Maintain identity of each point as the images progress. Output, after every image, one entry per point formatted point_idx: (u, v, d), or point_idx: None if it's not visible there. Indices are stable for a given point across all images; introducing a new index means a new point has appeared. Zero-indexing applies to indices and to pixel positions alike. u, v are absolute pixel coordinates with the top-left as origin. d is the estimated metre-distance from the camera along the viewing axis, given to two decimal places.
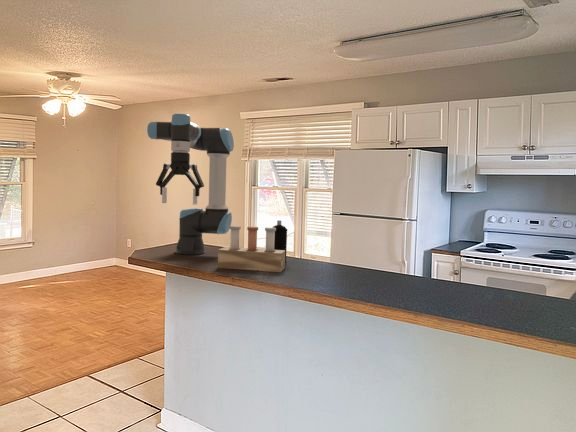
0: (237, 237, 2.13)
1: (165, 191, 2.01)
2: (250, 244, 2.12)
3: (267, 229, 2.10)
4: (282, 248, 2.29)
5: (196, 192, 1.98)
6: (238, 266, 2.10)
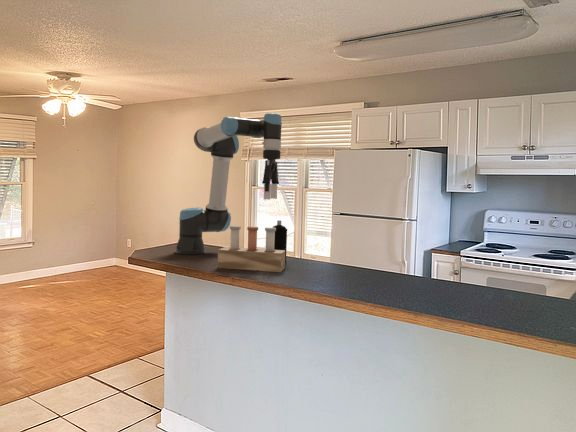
0: (237, 237, 2.13)
1: (274, 187, 2.16)
2: (250, 244, 2.12)
3: (267, 229, 2.10)
4: (282, 248, 2.29)
5: None
6: (238, 266, 2.10)
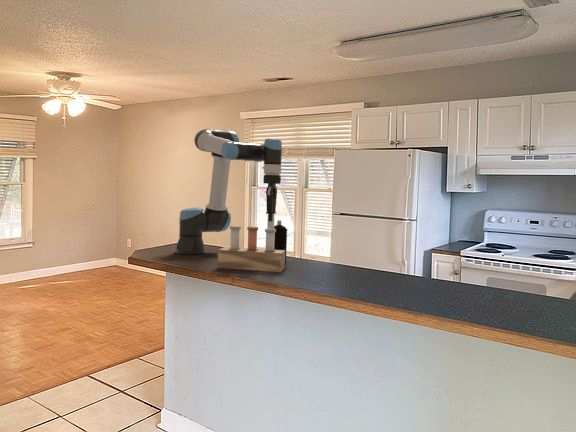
0: (237, 237, 2.13)
1: None
2: (250, 244, 2.12)
3: (267, 230, 2.10)
4: (282, 248, 2.29)
5: None
6: (238, 266, 2.10)
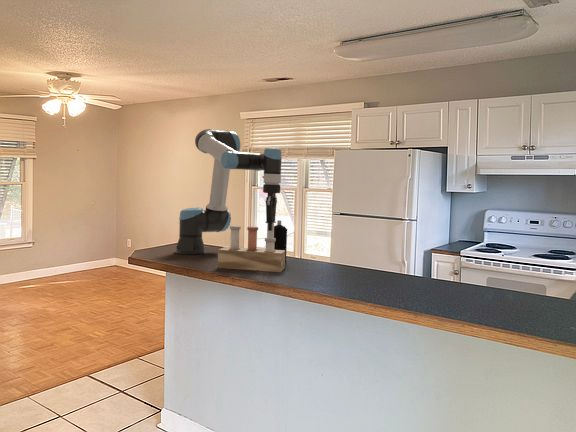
0: (237, 237, 2.13)
1: None
2: (250, 244, 2.12)
3: (267, 239, 2.10)
4: (282, 248, 2.29)
5: None
6: (238, 266, 2.10)
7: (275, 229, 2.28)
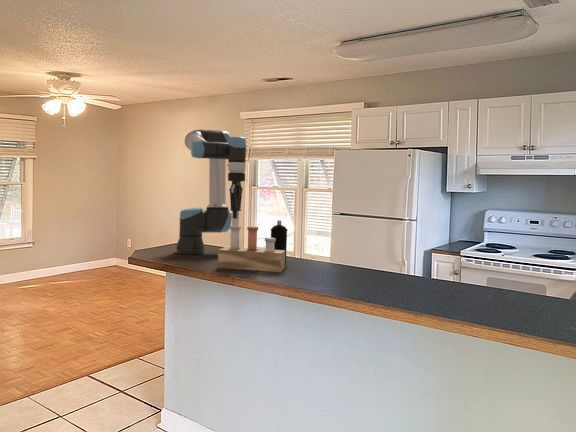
0: (237, 237, 2.13)
1: None
2: (250, 244, 2.12)
3: (267, 239, 2.10)
4: (282, 248, 2.29)
5: None
6: (238, 266, 2.10)
7: (275, 229, 2.28)
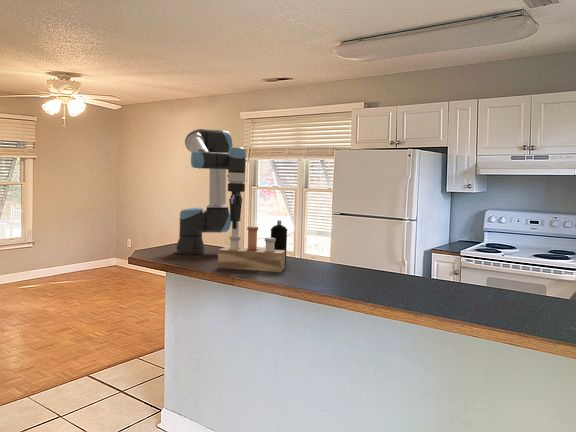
0: (237, 247, 2.14)
1: None
2: (250, 244, 2.12)
3: (267, 239, 2.10)
4: (282, 248, 2.29)
5: None
6: (238, 266, 2.10)
7: (275, 229, 2.28)
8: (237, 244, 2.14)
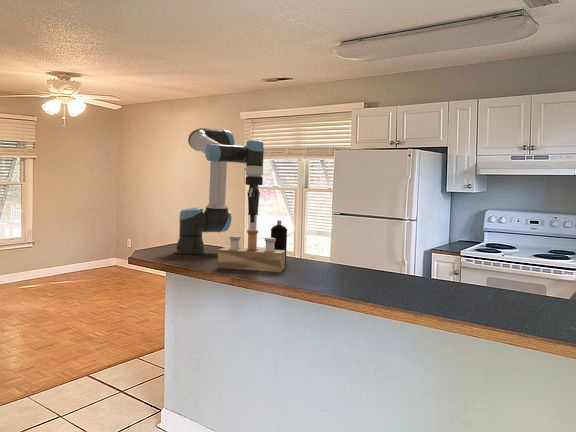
0: (237, 248, 2.14)
1: None
2: (250, 247, 2.12)
3: (267, 239, 2.10)
4: (282, 248, 2.29)
5: None
6: (238, 266, 2.10)
7: (275, 229, 2.28)
8: (237, 244, 2.14)
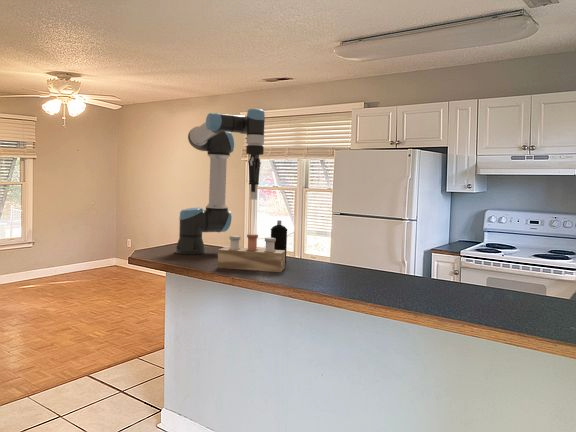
0: (237, 248, 2.14)
1: None
2: None
3: (267, 239, 2.10)
4: (282, 248, 2.29)
5: None
6: (238, 266, 2.10)
7: (275, 229, 2.28)
8: (237, 244, 2.14)
